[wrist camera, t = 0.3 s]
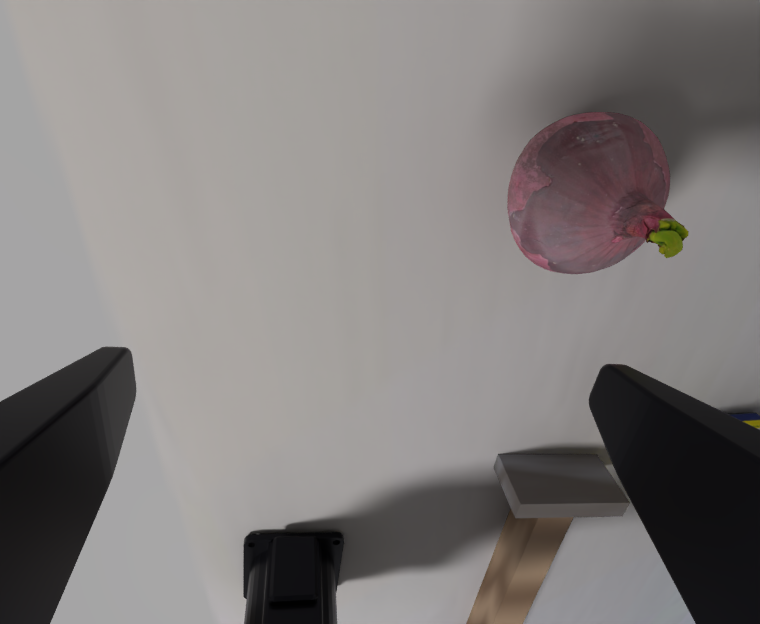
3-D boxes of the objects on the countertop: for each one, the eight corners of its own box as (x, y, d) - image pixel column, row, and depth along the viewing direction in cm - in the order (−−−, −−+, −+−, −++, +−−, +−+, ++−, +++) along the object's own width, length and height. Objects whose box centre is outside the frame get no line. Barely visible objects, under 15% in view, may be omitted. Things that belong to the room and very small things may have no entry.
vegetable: (599, 76, 21) (804, 106, 12) (613, 207, 24) (785, 306, 15) (463, 130, 21) (570, 198, 13) (495, 252, 24) (598, 373, 16)
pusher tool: (512, 630, 43) (530, 683, 39) (435, 635, 42) (447, 690, 38) (596, 453, 33) (629, 502, 29) (497, 452, 32) (520, 504, 28)
